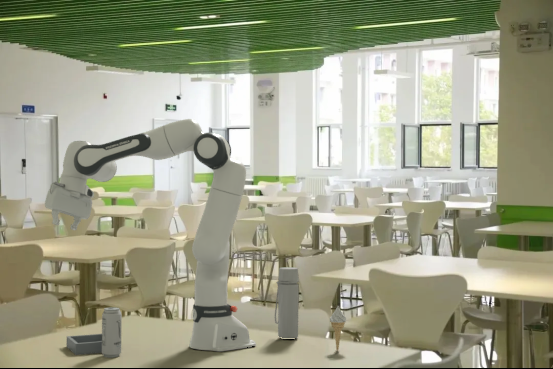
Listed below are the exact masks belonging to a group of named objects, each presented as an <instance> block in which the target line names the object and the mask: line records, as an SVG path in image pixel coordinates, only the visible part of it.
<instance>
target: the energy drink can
mask: <svg viewBox="0 0 553 369" xmlns="http://www.w3.org/2000/svg"><path fill="white" fill-rule="evenodd" d="M122 319H123V318H122V312H121V309H120V307H117V306H116V307H112V306H111V307H104V309H103V312H102V314H101V334H102V353H101V354H102V355H103V357H104V358H118V357H120V355H121V353H122Z"/></svg>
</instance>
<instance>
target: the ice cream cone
mask: <svg viewBox="0 0 553 369" xmlns="http://www.w3.org/2000/svg"><path fill="white" fill-rule="evenodd" d="M329 322H330V324H331V328H333V330H334V339H335V349H336V351H339V348H340V340H341V332H342V330H343V328H345V323H347V318H346V317H345V315H344V313H343V312H342V310H341V308H340V306H339V305H337V307H336V308H335V310H334V311H333V312H332V314H331V316H330V317H329Z"/></svg>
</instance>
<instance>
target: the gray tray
mask: <svg viewBox="0 0 553 369" xmlns="http://www.w3.org/2000/svg"><path fill="white" fill-rule="evenodd" d="M66 348H67V349H68V350H69V351H71V353H73V354H74V355H75V356H77V355H78V356H79V355H90V354H100V353H101V354H102V333H95V334H94V333H93V334H80V335H79V334H78V335H67V336H66Z"/></svg>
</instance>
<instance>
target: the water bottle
mask: <svg viewBox="0 0 553 369" xmlns="http://www.w3.org/2000/svg"><path fill="white" fill-rule="evenodd" d="M298 269H299V268H298V267H294V266H293V267H290V266H289V267H287V266H286V267H284V266H283V267H279V269H278V277H277V279H278V281H276V284H277V292H276V299H275V310H274V323H275V324H277V325H278V326H277V337H278V336H279V337H282V338H296V339H298V338H299V292H300V291H299V290H300V287H299V285H300V284H299V283H300V282H299V281H300V278H299V270H298ZM277 313H278V314H277ZM277 316H278V317H277ZM277 319H278V320H277ZM279 337H278V338H279Z"/></svg>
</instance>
